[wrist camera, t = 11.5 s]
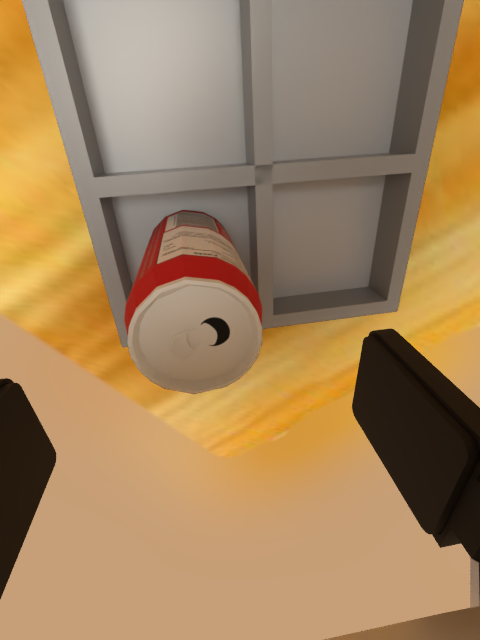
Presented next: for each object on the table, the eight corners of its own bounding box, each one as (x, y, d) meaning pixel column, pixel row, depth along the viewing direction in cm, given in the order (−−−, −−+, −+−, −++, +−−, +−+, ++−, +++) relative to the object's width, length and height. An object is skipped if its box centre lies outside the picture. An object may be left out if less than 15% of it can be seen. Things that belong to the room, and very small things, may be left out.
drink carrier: (429, -51, 17) (483, -95, 14) (373, 292, 27) (397, 311, 24) (31, -52, 15) (-9, -104, 12) (130, 322, 24) (122, 347, 21)
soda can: (168, 297, 23) (156, 421, 13) (134, 224, 20) (84, 307, 10) (240, 272, 23) (286, 377, 13) (216, 196, 20) (250, 250, 10)
